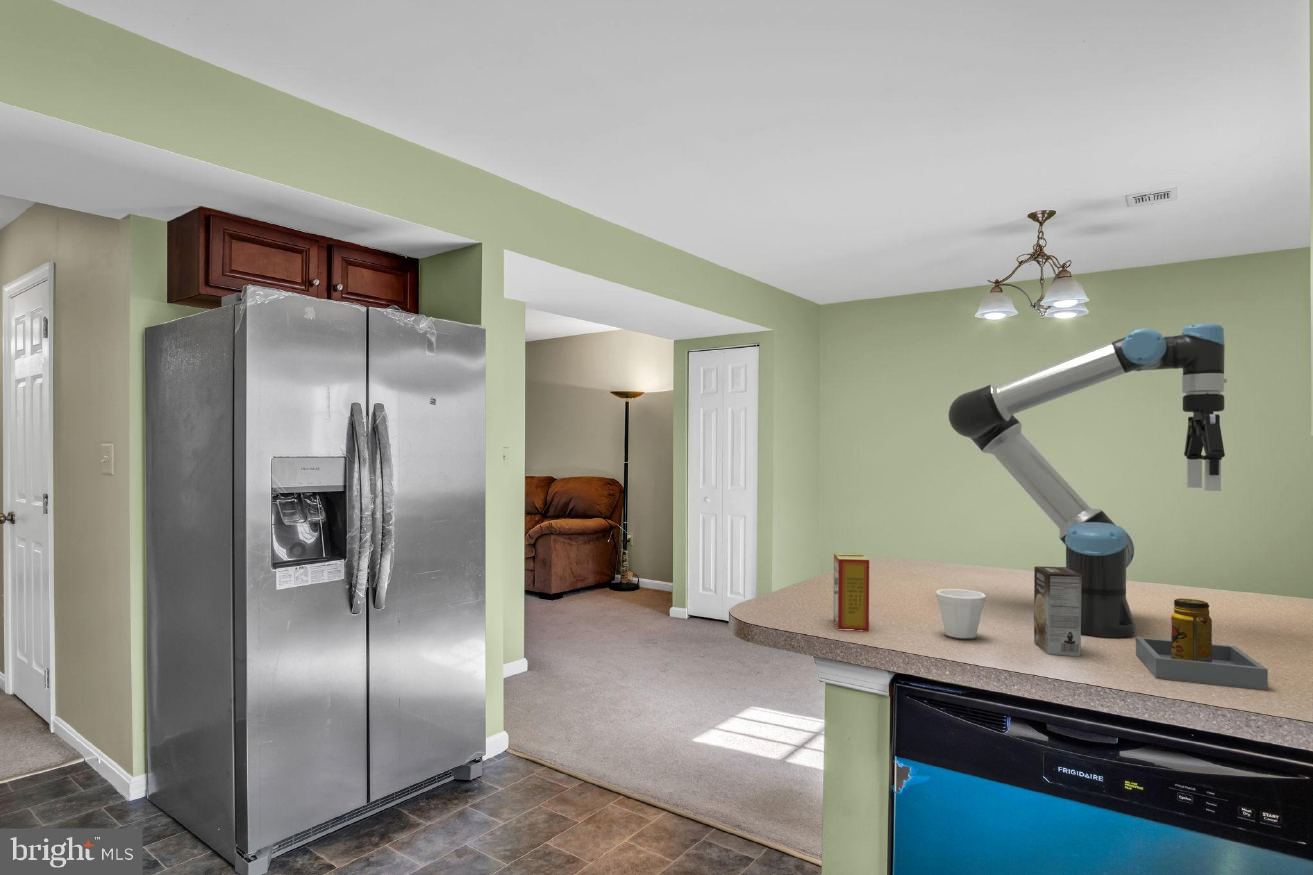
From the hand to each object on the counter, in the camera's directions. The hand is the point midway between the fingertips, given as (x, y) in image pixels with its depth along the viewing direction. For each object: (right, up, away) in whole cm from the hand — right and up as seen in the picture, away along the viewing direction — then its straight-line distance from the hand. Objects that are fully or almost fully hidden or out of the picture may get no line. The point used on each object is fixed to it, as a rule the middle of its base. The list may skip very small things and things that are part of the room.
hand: (1203, 489), depth 165 cm
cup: (-57, -31, -6) cm, 65 cm away
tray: (-23, -31, -30) cm, 49 cm away
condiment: (-23, -31, -29) cm, 48 cm away
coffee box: (-41, -31, -16) cm, 54 cm away
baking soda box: (-78, -31, +2) cm, 84 cm away
